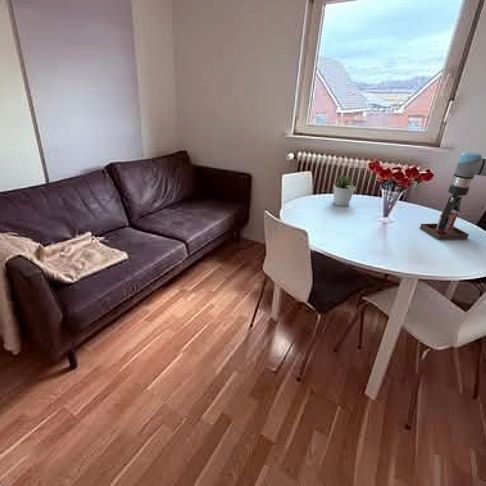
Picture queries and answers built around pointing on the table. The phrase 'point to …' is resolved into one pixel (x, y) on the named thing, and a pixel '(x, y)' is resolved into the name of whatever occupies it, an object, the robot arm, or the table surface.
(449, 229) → the beverage can
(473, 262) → the table surface
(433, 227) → the tray
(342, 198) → the potted plant
